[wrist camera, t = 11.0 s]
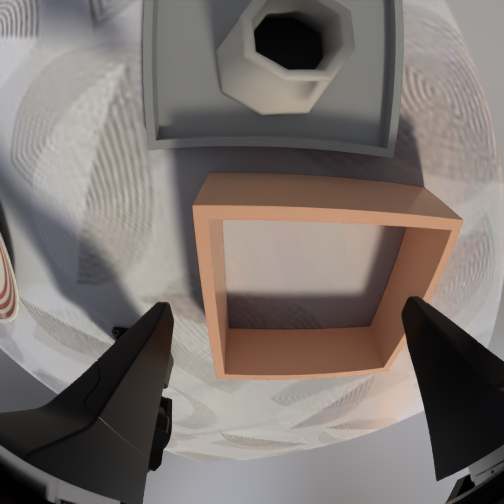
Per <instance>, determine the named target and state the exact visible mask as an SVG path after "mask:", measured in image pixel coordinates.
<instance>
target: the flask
mask: <svg viewBox="0 0 504 504" xmlns="http://www.w3.org/2000/svg"><path fill="white" fill-rule="evenodd" d="M354 50H355V42H354V33H353V24H352V17H351V11H350V10H349V9H347V8H346V7H344V6H343V5H341V4H340V3H338V2H337V1H335V0H252V2H251V3H250V4H249V5H248V7H247V8H246V9H245V10H244V12H243V13H242V14H241V16H240V17H239V19H238V20H237V22H236V23H235V25H234V26H233V27H232V29H231V30H230V31H229V33H228V34H227V36H226V37H225V39H224V40H223V41H222V43H221V44H220V46H219V47H218V49H217V50H216V55H217V64H218V72H219V80H220V89H221V94H223V95H225V96H227V97H229V98H231V99H233V100H234V101H236V102H238V103H240V104H242V105H244V106H245V107H247V108H249V109H251V110H252V111H254V112H256V113H258V114H259V115H261V116H267V115H284V114H308V113H309V112H310V111H311V109H312V108H313V106H314V105H315V104H316V102H317V101H318V99H319V98H320V97H321V95H322V94H323V93H324V91H325V90H326V89H327V87H328V86H329V84H330V83H331V82H332V80H333V78H334V77H335V76H336V74H337V73H338V72H339V70H340V69H341V68H342V66H343V65H344V64H345V62H346V61H347V60H348V58H349V57H350V56H351V54H352V53H353V52H354Z"/></svg>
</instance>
